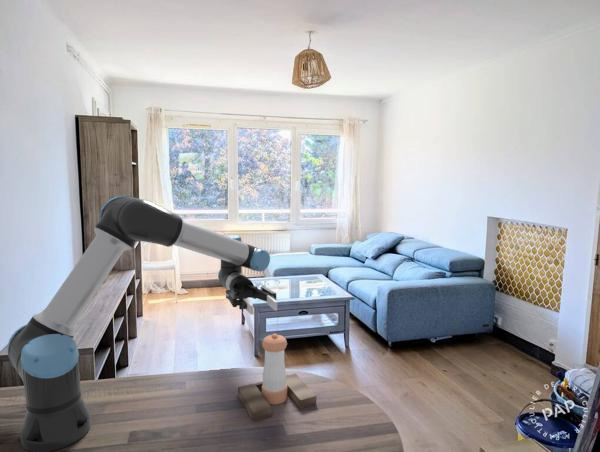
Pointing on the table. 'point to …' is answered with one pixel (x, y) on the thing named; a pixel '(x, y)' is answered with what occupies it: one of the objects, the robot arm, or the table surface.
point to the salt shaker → (274, 369)
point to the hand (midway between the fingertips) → (264, 308)
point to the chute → (261, 407)
